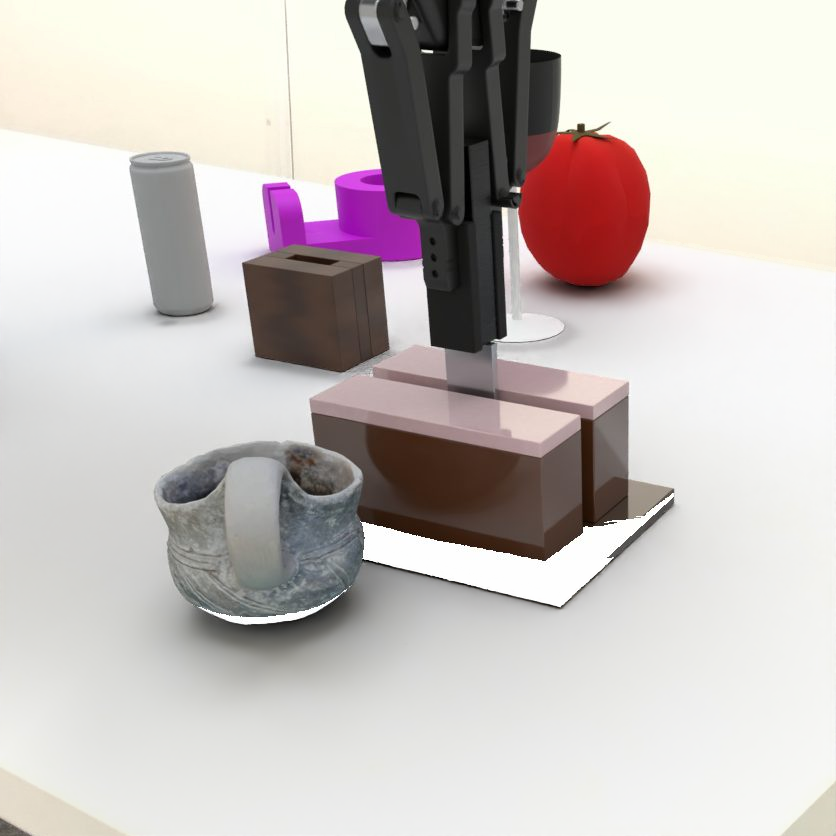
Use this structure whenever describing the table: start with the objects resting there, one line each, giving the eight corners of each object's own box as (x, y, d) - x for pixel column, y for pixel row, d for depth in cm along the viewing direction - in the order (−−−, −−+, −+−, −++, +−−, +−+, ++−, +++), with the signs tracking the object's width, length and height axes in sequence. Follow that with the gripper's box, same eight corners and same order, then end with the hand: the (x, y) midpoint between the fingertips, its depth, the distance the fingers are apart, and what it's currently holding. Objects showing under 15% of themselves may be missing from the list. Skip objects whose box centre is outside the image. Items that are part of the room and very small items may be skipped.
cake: (273, 538, 73) (253, 404, 69) (415, 450, 84) (405, 330, 80) (560, 608, 67) (556, 465, 63) (674, 503, 78) (677, 375, 74)
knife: (448, 496, 75) (421, 141, 65) (465, 485, 76) (442, 134, 66) (494, 506, 74) (474, 146, 64) (510, 494, 75) (493, 140, 65)
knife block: (255, 356, 100) (241, 262, 96) (305, 334, 104) (293, 243, 101) (342, 372, 97) (331, 276, 93) (389, 348, 102) (381, 256, 98)
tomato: (530, 305, 111) (524, 139, 105) (513, 266, 122) (507, 113, 115) (665, 298, 113) (668, 135, 107) (637, 261, 124) (638, 110, 117)
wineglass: (453, 340, 103) (434, 62, 93) (484, 308, 111) (470, 47, 100) (552, 347, 102) (545, 65, 92) (577, 314, 109) (573, 50, 99)
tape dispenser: (429, 230, 133) (425, 165, 130) (458, 254, 125) (454, 185, 122) (267, 246, 127) (258, 178, 124) (287, 272, 120) (278, 200, 116)
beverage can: (178, 297, 113) (153, 149, 107) (227, 303, 111) (204, 153, 105) (142, 313, 109) (113, 160, 103) (192, 319, 107) (166, 164, 101)
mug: (352, 549, 72) (332, 372, 67) (412, 660, 62) (394, 462, 57) (168, 581, 69) (131, 397, 64) (200, 704, 59) (161, 498, 54)
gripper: (414, -189, 51) (454, 396, 63) (591, -180, 63) (596, 313, 75) (258, -188, 54) (325, 372, 66) (455, -180, 65) (481, 295, 77)
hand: (469, 340), depth 70 cm, fingers closed on knife, 2 cm apart
